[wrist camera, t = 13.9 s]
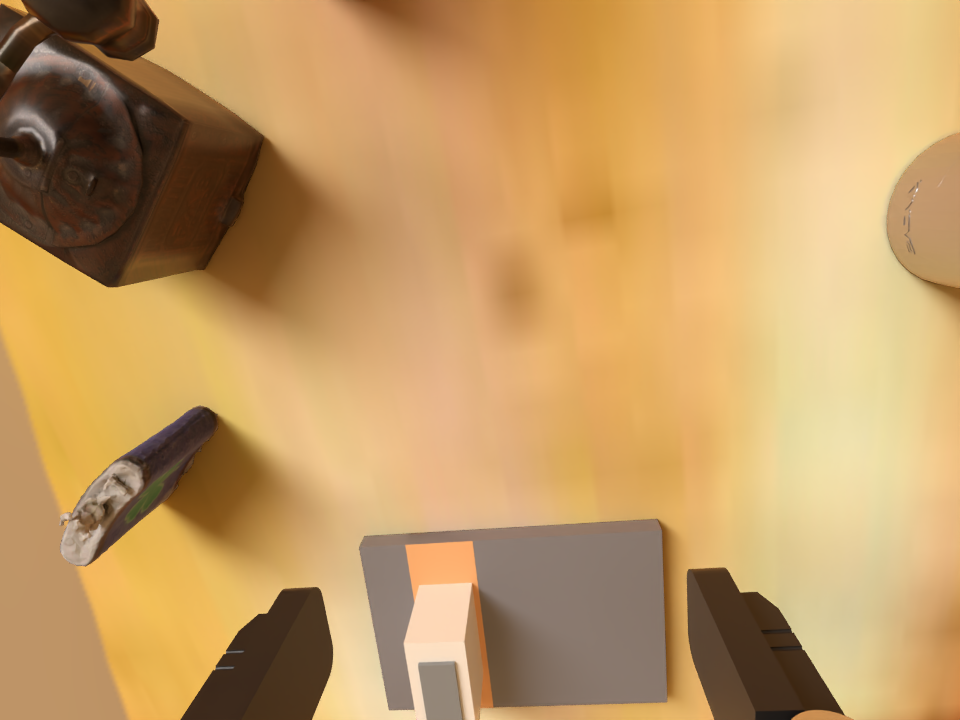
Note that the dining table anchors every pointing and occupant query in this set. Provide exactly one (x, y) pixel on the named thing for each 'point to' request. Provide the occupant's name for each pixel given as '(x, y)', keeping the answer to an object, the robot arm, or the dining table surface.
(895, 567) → the dining table surface
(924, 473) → the dining table surface
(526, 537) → the board
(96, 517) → the flask
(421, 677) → the block
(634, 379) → the dining table surface
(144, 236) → the black coffee grinder
